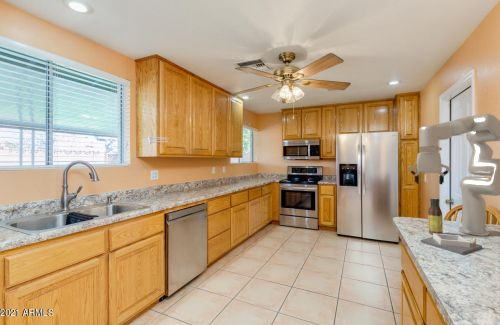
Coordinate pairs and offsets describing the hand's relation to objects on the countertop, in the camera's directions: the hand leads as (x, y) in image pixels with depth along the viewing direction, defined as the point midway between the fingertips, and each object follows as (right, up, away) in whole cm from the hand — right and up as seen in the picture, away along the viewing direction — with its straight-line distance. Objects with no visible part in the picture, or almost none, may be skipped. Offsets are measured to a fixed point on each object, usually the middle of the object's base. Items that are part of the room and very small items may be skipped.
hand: (428, 183), depth 120 cm
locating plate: (+6, -29, -5) cm, 31 cm away
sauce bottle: (+12, -29, +11) cm, 34 cm away
